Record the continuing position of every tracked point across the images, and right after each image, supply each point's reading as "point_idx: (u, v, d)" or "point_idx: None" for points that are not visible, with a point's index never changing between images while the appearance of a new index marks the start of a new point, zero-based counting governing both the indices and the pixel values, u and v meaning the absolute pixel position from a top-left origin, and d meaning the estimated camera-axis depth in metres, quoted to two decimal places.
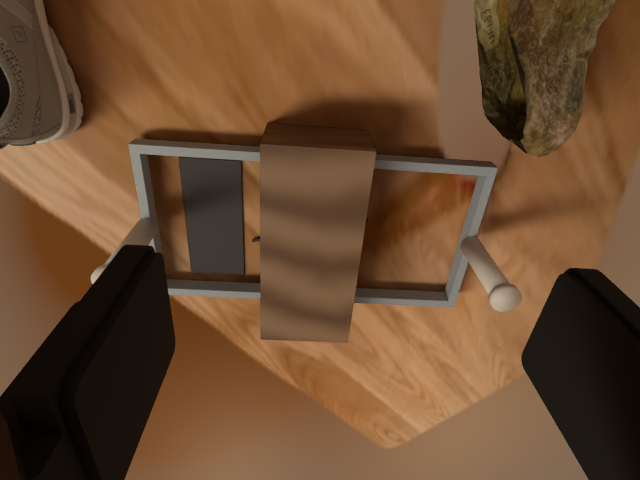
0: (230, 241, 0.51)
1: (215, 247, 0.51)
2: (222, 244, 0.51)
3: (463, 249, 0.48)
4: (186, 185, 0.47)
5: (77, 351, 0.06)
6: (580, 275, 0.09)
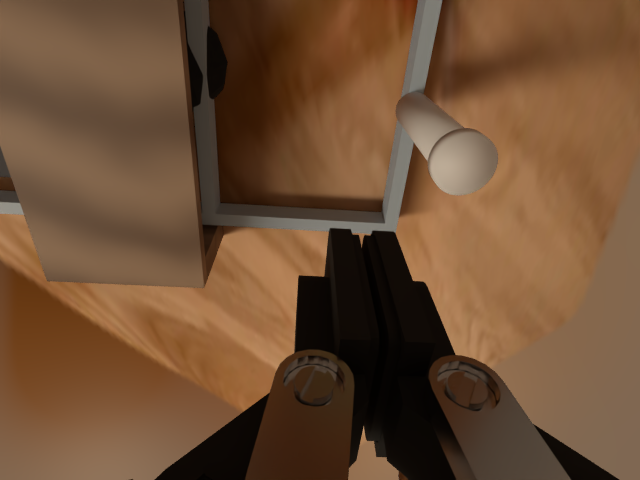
0: None
1: None
2: None
3: (399, 113, 0.26)
4: None
5: (362, 309, 0.07)
6: (375, 236, 0.10)
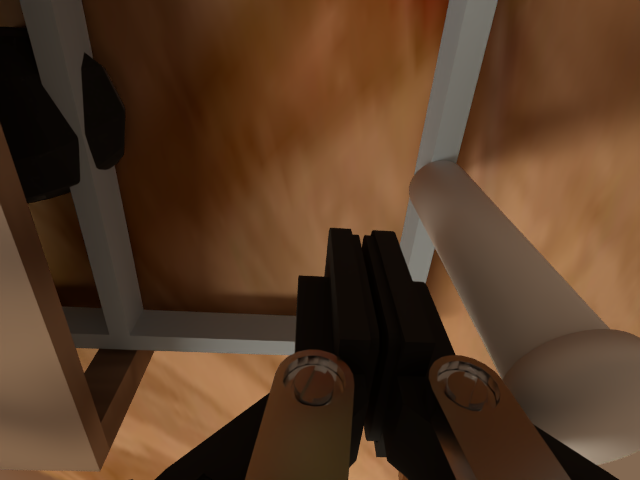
0: None
1: None
2: None
3: (415, 199, 0.15)
4: None
5: (362, 309, 0.07)
6: (374, 236, 0.10)
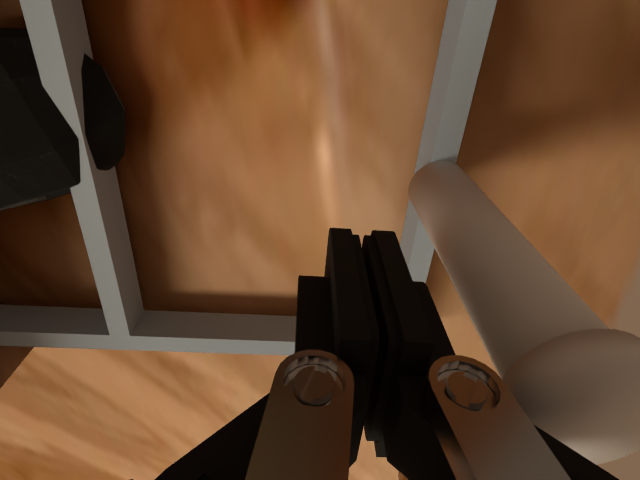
0: None
1: None
2: None
3: (415, 199, 0.15)
4: None
5: (362, 309, 0.07)
6: (374, 236, 0.10)
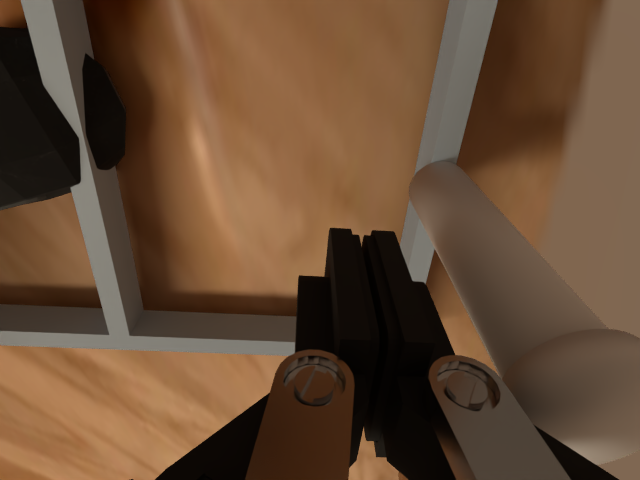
0: None
1: None
2: None
3: (415, 200, 0.15)
4: None
5: (362, 309, 0.07)
6: (374, 236, 0.10)
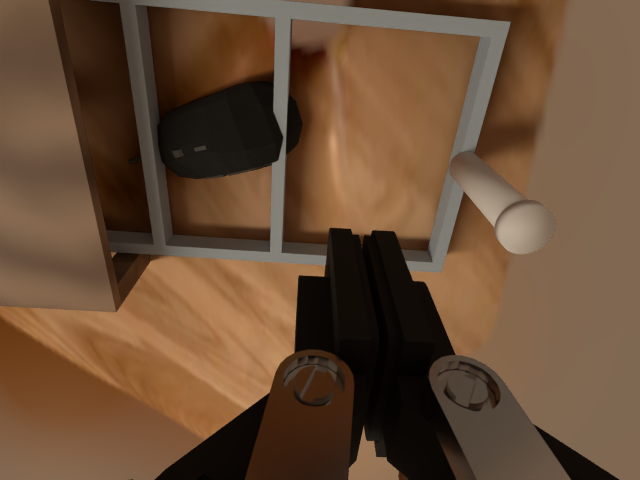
0: None
1: None
2: None
3: (453, 170, 0.30)
4: None
5: (362, 309, 0.07)
6: (375, 236, 0.10)
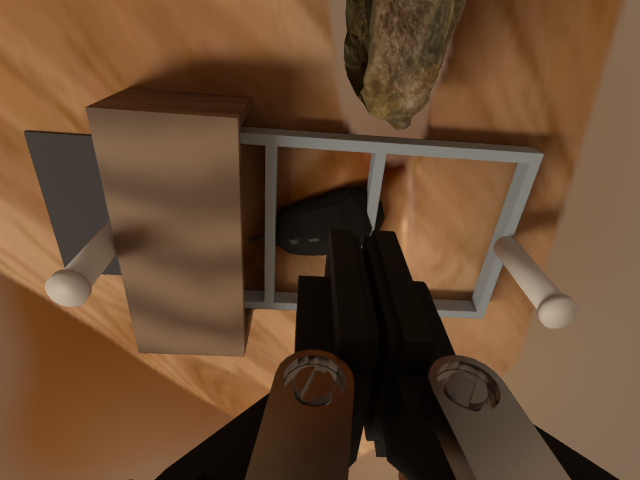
0: None
1: None
2: None
3: (498, 251, 0.41)
4: (39, 166, 0.39)
5: (362, 309, 0.07)
6: (375, 236, 0.10)
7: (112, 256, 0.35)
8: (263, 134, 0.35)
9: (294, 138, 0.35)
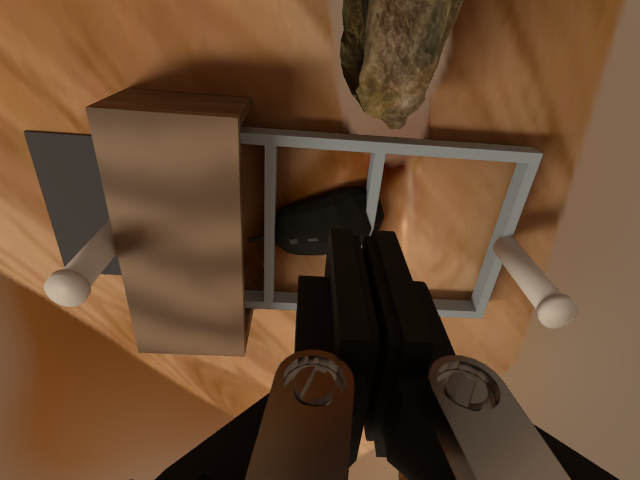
0: None
1: None
2: None
3: (497, 251, 0.41)
4: (39, 166, 0.39)
5: (362, 309, 0.07)
6: (375, 236, 0.10)
7: (111, 256, 0.35)
8: (262, 134, 0.35)
9: (293, 138, 0.35)
